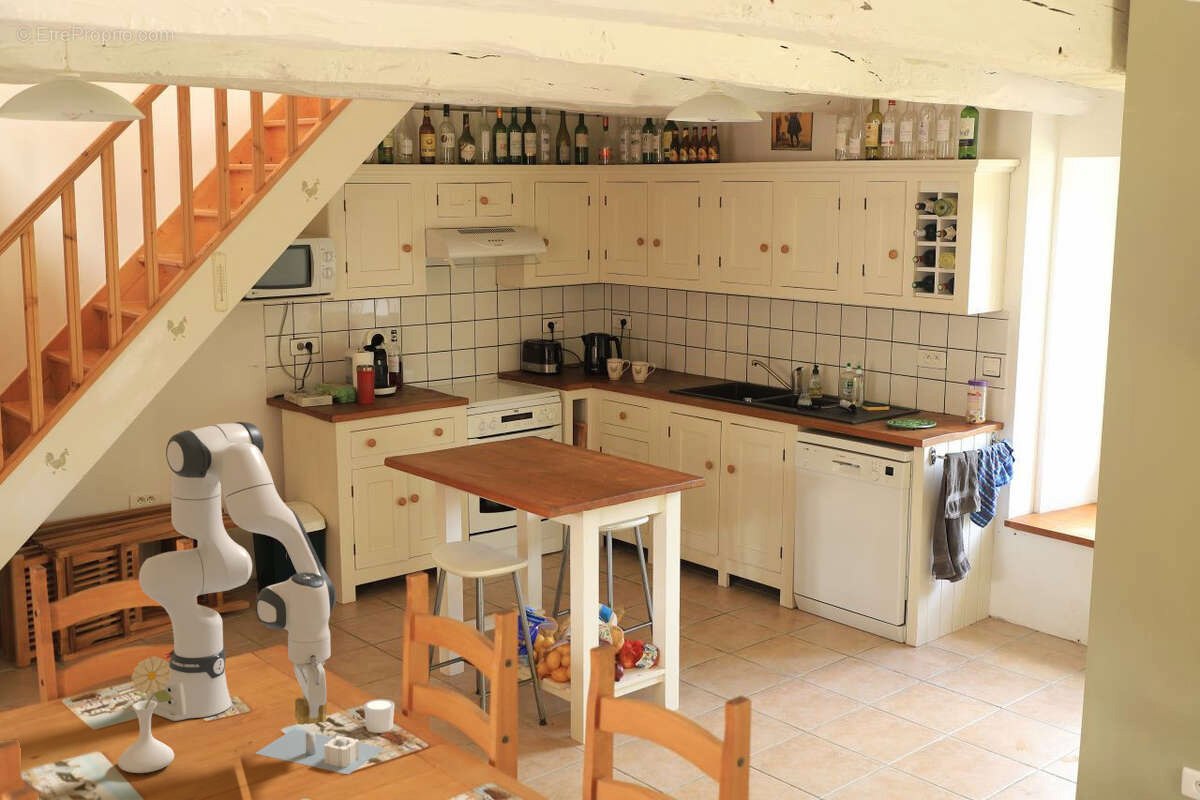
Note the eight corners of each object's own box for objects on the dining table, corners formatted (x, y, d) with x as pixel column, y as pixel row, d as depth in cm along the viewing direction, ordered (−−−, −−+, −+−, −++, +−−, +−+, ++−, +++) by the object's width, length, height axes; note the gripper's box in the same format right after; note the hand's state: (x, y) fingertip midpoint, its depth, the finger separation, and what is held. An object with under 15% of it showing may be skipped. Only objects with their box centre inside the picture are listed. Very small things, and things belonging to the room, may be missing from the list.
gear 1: (286, 721, 256) (286, 703, 255) (306, 711, 262) (307, 694, 262) (314, 726, 253) (314, 708, 253) (334, 716, 260) (334, 698, 259)
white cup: (388, 741, 270) (387, 711, 269) (359, 738, 271) (359, 708, 270) (399, 729, 277) (399, 700, 276) (371, 726, 278) (371, 697, 277)
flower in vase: (105, 772, 252) (101, 659, 248) (143, 751, 262) (139, 642, 259) (156, 783, 247) (152, 668, 244) (192, 761, 258) (189, 650, 254)
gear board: (254, 759, 259) (254, 733, 258) (294, 735, 272) (293, 710, 271) (348, 781, 250) (348, 754, 249) (384, 754, 263) (384, 728, 262)
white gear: (327, 770, 252) (327, 752, 251) (321, 756, 258) (321, 738, 258) (361, 764, 255) (361, 747, 254) (355, 751, 261) (355, 733, 261)
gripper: (333, 663, 248) (334, 726, 249) (316, 633, 266) (317, 692, 268) (302, 666, 245) (303, 731, 247) (287, 636, 264) (289, 696, 266)
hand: (310, 710), depth 258 cm, fingers closed on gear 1, 6 cm apart
